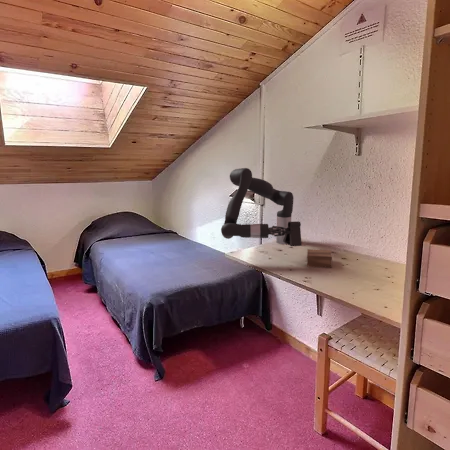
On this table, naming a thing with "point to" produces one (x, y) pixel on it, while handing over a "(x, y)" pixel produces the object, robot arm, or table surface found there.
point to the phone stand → (293, 234)
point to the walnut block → (319, 258)
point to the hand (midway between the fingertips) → (292, 231)
